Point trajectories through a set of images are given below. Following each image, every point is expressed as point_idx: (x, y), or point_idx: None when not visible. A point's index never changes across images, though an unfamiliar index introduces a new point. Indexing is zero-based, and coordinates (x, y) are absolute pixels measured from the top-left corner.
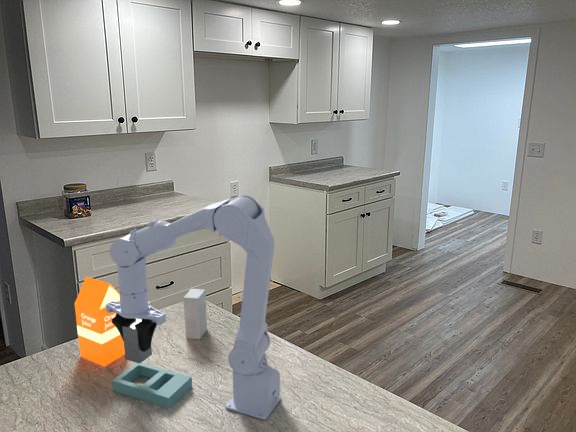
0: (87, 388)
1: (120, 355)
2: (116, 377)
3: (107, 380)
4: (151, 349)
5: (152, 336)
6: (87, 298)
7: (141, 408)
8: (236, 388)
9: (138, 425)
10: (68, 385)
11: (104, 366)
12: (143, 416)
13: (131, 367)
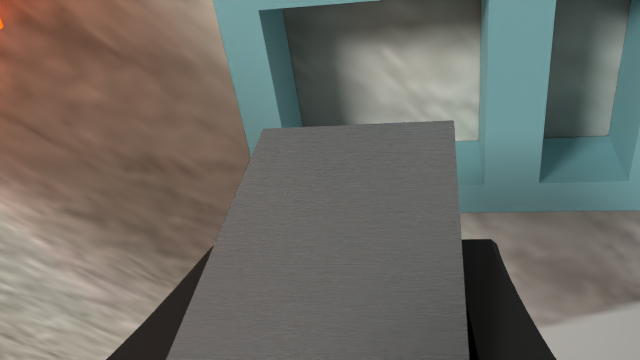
0: (151, 209)
1: None
2: None
3: (165, 121)
4: (454, 155)
5: (547, 347)
6: None
7: (547, 215)
8: None
9: (615, 299)
10: (57, 226)
11: (2, 25)
12: (600, 252)
13: (240, 60)
